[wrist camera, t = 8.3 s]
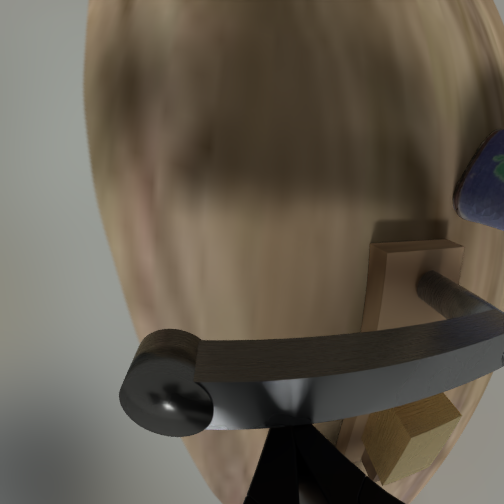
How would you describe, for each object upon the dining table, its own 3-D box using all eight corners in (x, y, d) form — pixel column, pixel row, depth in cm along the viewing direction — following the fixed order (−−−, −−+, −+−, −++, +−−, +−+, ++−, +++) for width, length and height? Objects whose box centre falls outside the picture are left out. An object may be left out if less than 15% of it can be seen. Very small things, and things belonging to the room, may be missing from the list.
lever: (170, 317, 13) (131, 432, 6) (165, 269, 12) (108, 368, 6) (435, 303, 14) (514, 366, 7) (443, 264, 14) (534, 317, 7)
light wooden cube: (403, 425, 18) (429, 466, 13) (360, 438, 18) (382, 485, 13) (425, 371, 16) (462, 415, 11) (378, 385, 16) (411, 438, 11)
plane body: (392, 434, 21) (412, 470, 16) (334, 450, 21) (349, 491, 16) (445, 239, 16) (498, 261, 11) (370, 243, 15) (420, 272, 11)
